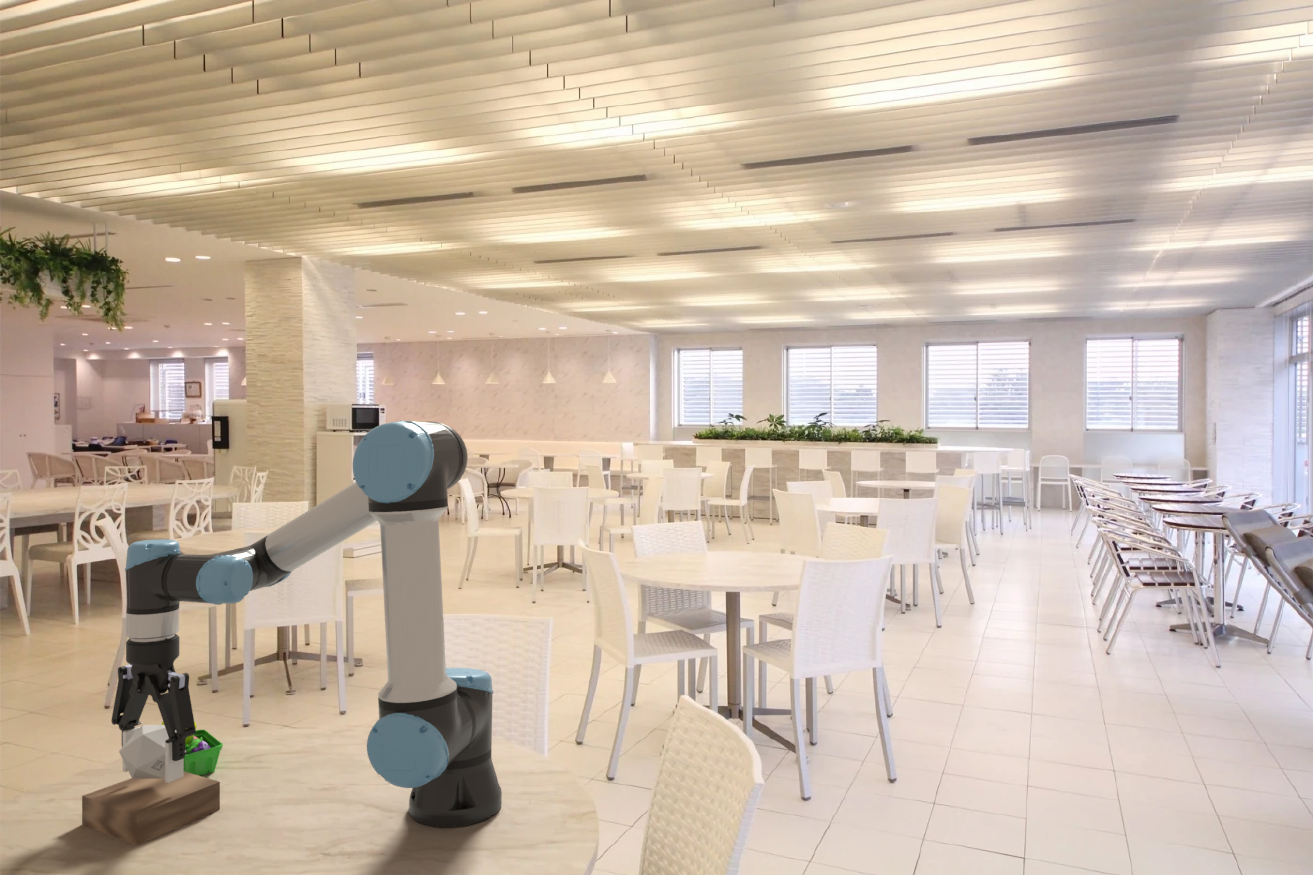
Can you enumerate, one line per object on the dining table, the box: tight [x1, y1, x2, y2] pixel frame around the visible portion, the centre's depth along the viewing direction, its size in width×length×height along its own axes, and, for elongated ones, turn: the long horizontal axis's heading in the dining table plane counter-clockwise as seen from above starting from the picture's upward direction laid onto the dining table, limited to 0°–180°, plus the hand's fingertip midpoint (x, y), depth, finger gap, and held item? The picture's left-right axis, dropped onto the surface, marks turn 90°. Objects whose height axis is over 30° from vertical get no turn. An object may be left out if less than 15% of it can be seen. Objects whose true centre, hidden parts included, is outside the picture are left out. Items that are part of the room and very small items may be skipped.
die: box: [118, 724, 186, 779], centre depth 143 cm, size 8×9×10 cm
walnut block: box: [81, 771, 221, 846], centre depth 143 cm, size 14×14×5 cm
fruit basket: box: [161, 721, 224, 776], centre depth 163 cm, size 11×9×11 cm
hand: (152, 773), depth 143 cm, fingers closed on die, 9 cm apart
